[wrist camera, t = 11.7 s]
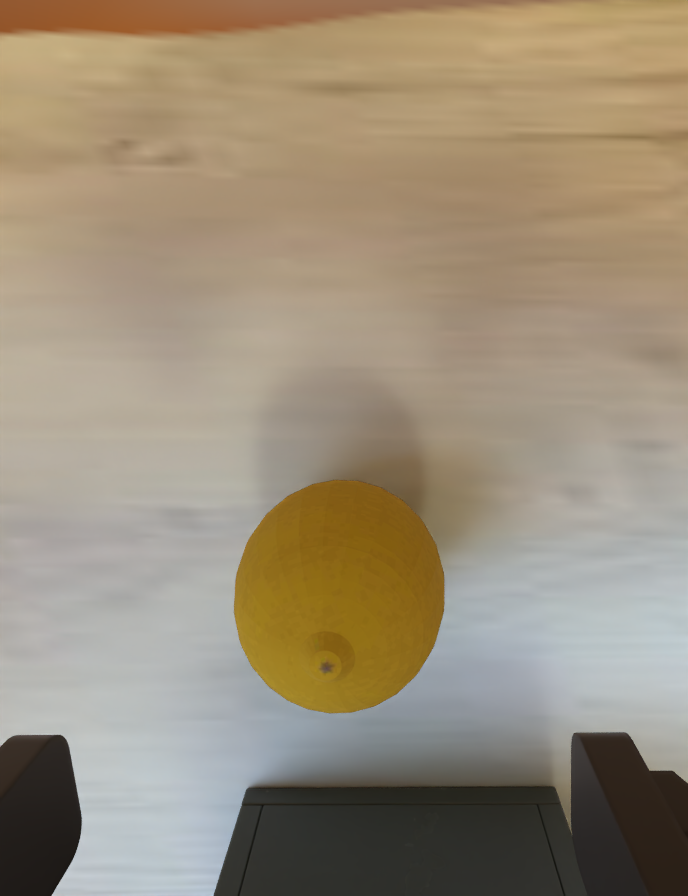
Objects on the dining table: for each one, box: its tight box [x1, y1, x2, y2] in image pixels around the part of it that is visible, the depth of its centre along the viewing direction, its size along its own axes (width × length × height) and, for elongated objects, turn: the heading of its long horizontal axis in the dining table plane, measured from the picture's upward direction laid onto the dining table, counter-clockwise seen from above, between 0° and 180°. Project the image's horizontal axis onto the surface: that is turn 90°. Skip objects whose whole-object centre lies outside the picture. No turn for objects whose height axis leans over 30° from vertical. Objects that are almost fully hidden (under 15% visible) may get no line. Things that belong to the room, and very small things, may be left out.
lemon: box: [234, 480, 444, 713], centre depth 17 cm, size 6×6×8 cm
